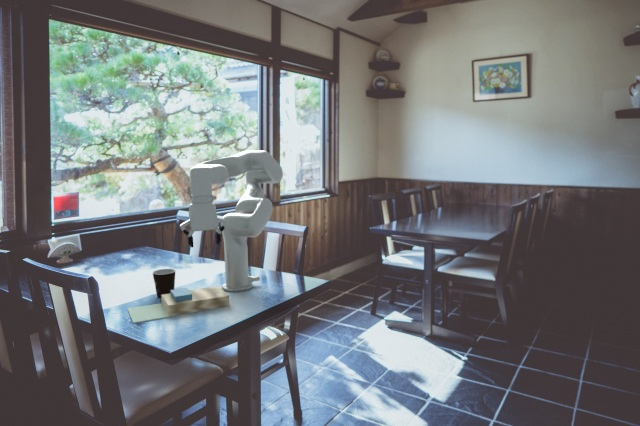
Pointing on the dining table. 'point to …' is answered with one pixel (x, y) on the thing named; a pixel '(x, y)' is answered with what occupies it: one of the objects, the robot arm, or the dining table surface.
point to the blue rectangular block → (181, 294)
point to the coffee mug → (164, 281)
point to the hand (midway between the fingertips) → (204, 245)
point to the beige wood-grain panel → (196, 301)
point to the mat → (147, 313)
